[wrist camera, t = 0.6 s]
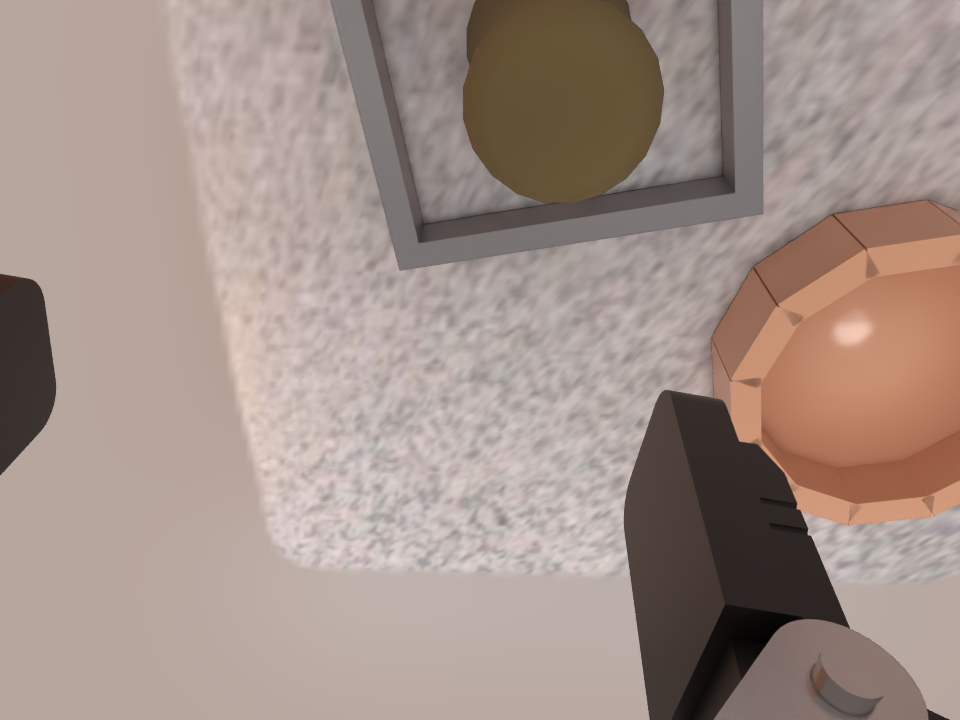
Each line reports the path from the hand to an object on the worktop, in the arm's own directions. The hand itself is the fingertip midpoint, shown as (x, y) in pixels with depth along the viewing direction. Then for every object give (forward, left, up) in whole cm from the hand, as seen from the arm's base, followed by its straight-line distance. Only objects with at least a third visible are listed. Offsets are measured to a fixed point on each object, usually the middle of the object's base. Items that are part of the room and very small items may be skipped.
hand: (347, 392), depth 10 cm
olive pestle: (-4, 0, -22) cm, 22 cm away
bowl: (-16, +15, -22) cm, 31 cm away
